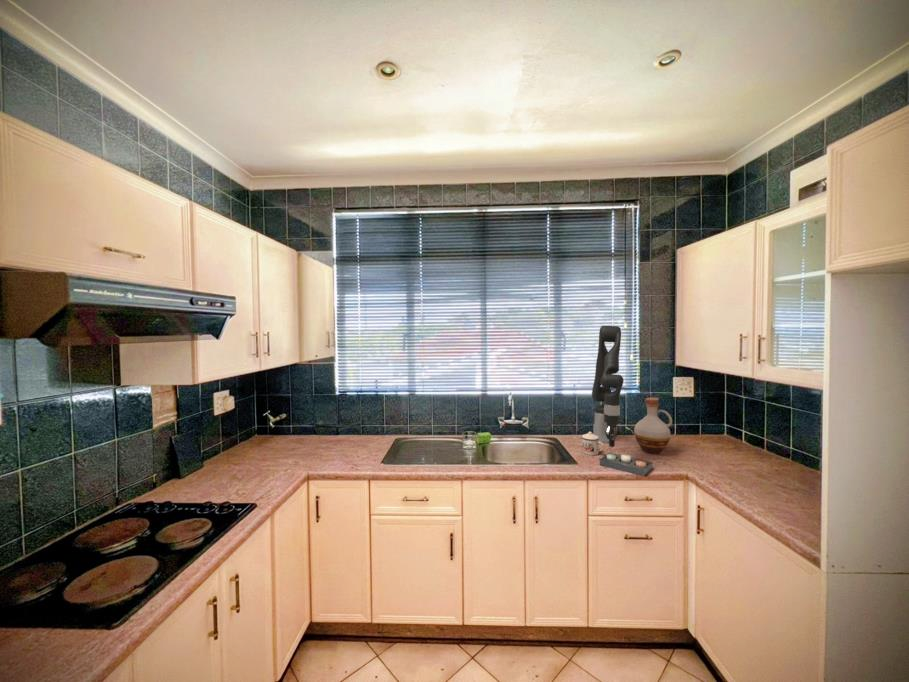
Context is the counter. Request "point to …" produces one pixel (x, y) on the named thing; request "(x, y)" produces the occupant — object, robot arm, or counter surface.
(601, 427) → the robot arm
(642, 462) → the orange rounded piece
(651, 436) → the jug
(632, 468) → the panel
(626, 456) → the ivory button
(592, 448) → the teacup with lid
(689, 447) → the counter surface
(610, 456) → the sage button
